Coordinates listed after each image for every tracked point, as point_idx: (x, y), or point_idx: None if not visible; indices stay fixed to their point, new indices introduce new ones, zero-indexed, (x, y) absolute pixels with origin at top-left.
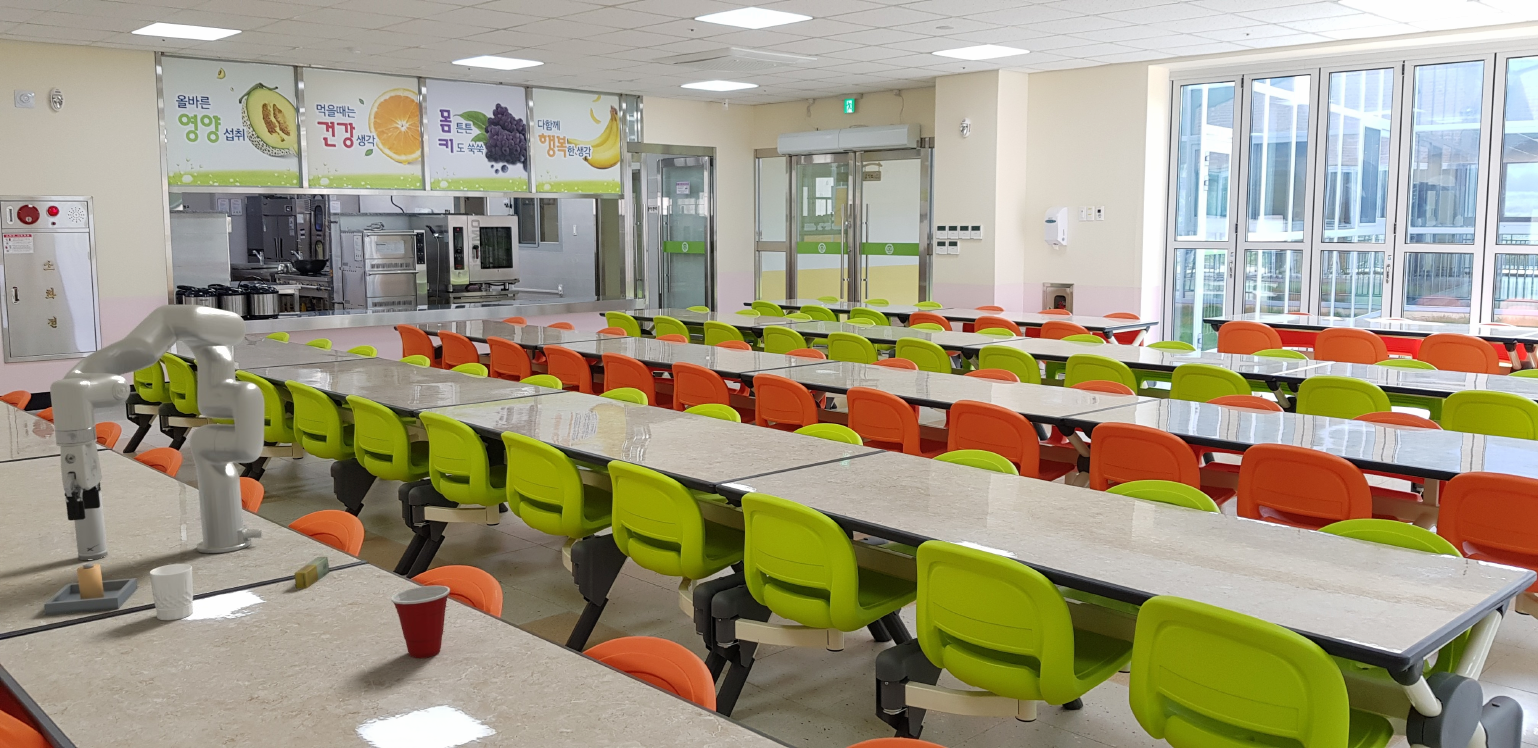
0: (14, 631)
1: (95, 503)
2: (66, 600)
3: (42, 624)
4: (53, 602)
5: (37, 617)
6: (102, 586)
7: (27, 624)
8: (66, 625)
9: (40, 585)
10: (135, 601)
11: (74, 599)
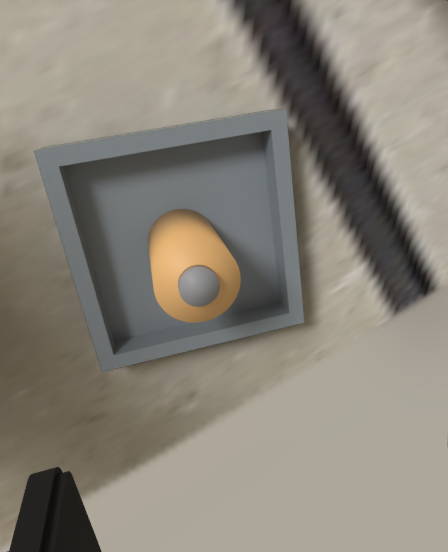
0: (397, 312)
1: (68, 527)
2: None
3: (362, 273)
4: (294, 304)
5: None
6: (178, 218)
7: (352, 312)
8: (388, 202)
9: (4, 481)
10: (196, 83)
11: None
